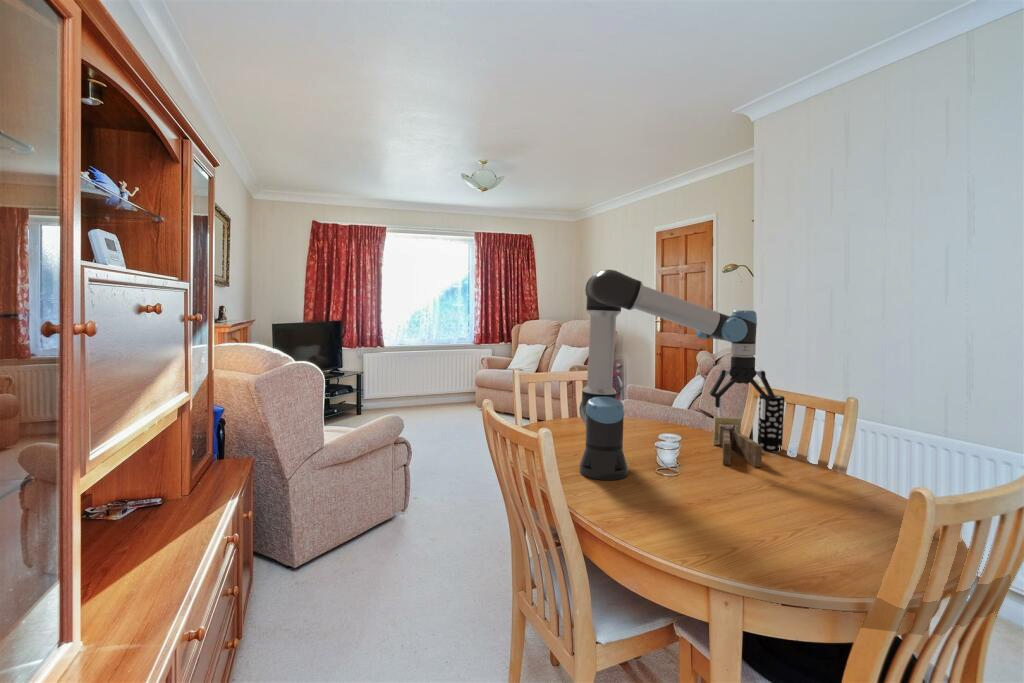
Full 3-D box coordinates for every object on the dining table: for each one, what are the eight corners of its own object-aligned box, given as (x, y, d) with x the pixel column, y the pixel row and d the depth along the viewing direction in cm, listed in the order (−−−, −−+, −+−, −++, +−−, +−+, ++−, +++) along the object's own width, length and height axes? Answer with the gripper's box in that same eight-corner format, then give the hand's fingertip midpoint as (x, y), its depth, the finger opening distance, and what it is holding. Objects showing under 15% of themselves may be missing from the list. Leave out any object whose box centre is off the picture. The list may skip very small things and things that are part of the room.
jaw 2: (730, 449, 190) (731, 430, 190) (736, 449, 190) (737, 431, 189) (754, 466, 170) (755, 446, 170) (761, 466, 170) (762, 446, 170)
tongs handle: (718, 442, 201) (718, 421, 201) (730, 442, 200) (730, 422, 200) (723, 449, 190) (724, 428, 190) (736, 450, 190) (737, 429, 189)
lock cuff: (712, 442, 199) (713, 416, 199) (738, 444, 197) (739, 417, 197) (714, 444, 196) (715, 417, 196) (739, 446, 194) (741, 419, 194)
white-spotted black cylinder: (752, 447, 194) (754, 395, 193) (767, 444, 198) (769, 393, 196) (771, 453, 187) (774, 399, 185) (787, 450, 190) (789, 397, 189)
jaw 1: (722, 448, 191) (723, 430, 190) (728, 449, 190) (729, 430, 190) (722, 464, 173) (723, 443, 172) (729, 465, 172) (730, 444, 171)
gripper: (705, 356, 172) (704, 418, 174) (786, 357, 167) (784, 422, 169) (702, 354, 180) (700, 413, 181) (779, 355, 175) (777, 417, 176)
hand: (740, 417), depth 175 cm, fingers open, 13 cm apart
